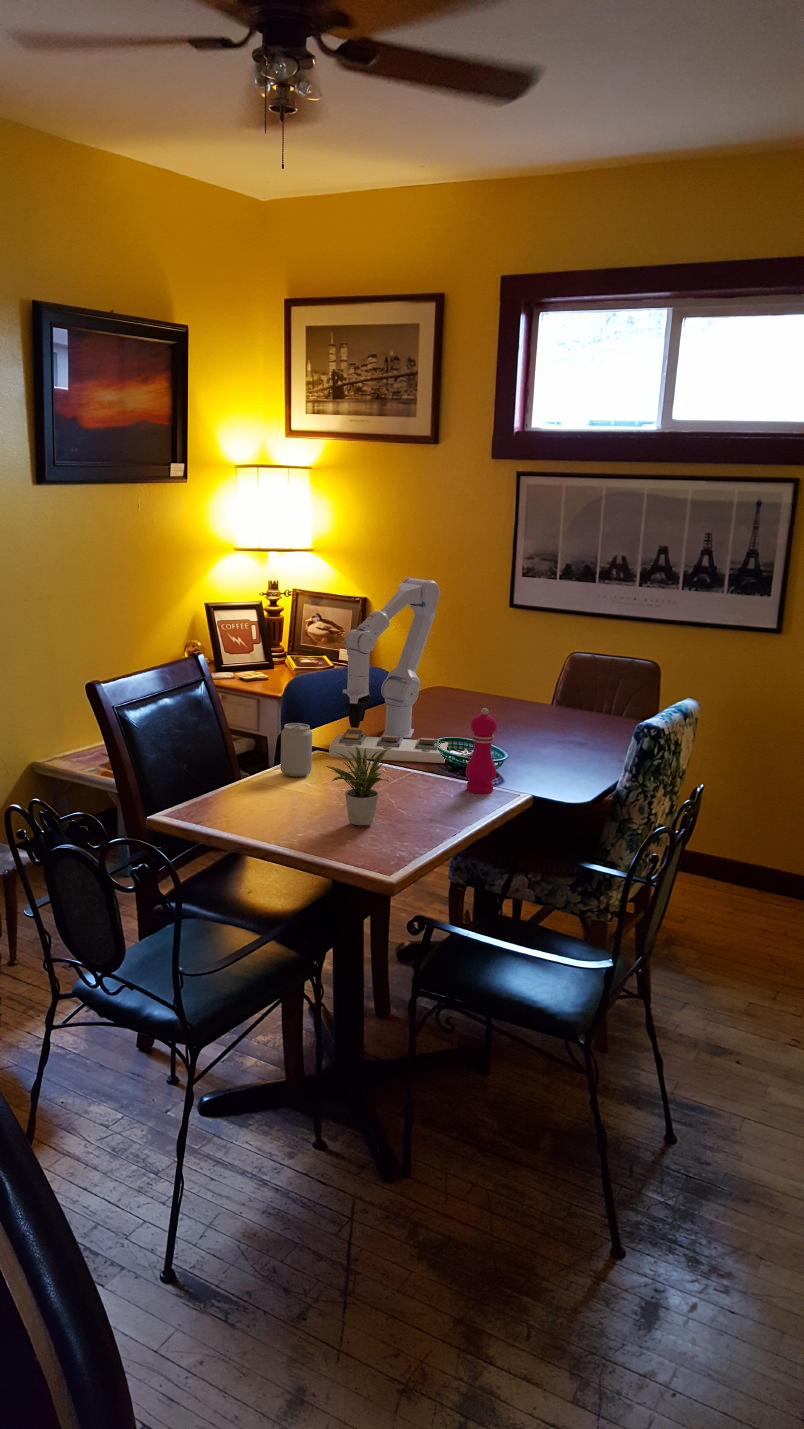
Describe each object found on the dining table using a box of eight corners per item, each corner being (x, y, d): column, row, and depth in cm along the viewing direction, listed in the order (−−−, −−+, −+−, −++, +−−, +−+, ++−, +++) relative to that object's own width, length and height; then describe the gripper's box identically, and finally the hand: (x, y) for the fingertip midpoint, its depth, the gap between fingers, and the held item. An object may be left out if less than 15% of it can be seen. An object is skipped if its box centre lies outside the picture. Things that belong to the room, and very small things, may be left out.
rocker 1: (347, 732, 273) (347, 728, 273) (362, 733, 273) (362, 729, 273) (343, 741, 268) (343, 737, 267) (358, 742, 267) (358, 738, 267)
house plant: (360, 804, 227) (363, 733, 223) (409, 819, 218) (412, 745, 215) (316, 818, 216) (317, 744, 212) (365, 835, 207) (367, 757, 204)
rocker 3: (421, 741, 271) (421, 737, 271) (436, 742, 271) (436, 738, 271) (419, 743, 265) (419, 739, 265) (434, 744, 265) (434, 740, 265)
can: (275, 775, 246) (276, 726, 244) (287, 767, 253) (288, 720, 251) (304, 778, 244) (305, 730, 242) (315, 771, 251) (317, 723, 249)
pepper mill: (496, 795, 238) (501, 712, 233) (465, 794, 238) (470, 710, 233) (494, 786, 245) (499, 705, 240) (463, 785, 245) (468, 703, 240)
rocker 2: (384, 738, 272) (384, 734, 272) (399, 739, 272) (399, 735, 272) (381, 740, 266) (381, 736, 266) (396, 741, 266) (396, 737, 266)
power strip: (337, 745, 277) (337, 731, 276) (490, 756, 272) (491, 742, 271) (329, 756, 265) (329, 741, 264) (489, 768, 261) (490, 753, 260)
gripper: (348, 669, 280) (346, 717, 283) (338, 678, 266) (337, 729, 269) (373, 670, 279) (371, 718, 282) (365, 680, 265) (364, 731, 268)
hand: (356, 724), depth 275 cm, fingers open, 7 cm apart
